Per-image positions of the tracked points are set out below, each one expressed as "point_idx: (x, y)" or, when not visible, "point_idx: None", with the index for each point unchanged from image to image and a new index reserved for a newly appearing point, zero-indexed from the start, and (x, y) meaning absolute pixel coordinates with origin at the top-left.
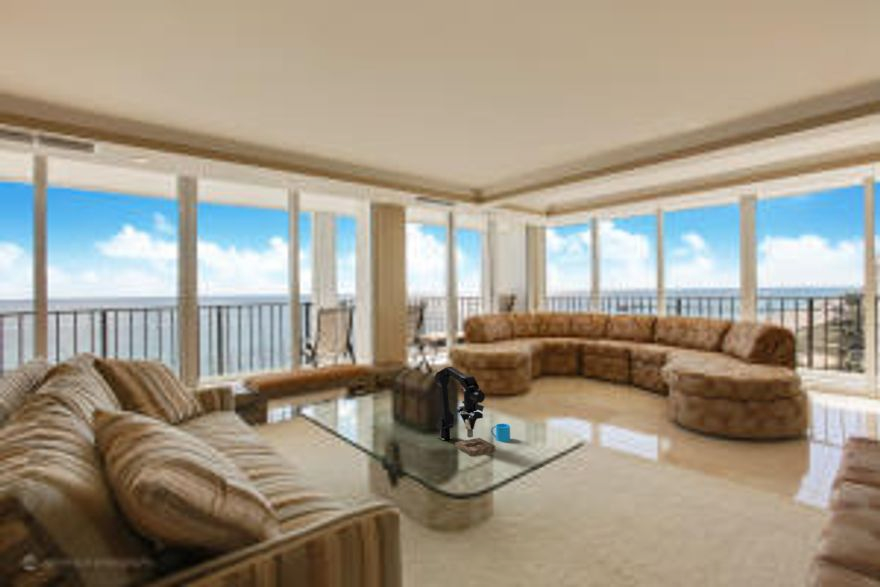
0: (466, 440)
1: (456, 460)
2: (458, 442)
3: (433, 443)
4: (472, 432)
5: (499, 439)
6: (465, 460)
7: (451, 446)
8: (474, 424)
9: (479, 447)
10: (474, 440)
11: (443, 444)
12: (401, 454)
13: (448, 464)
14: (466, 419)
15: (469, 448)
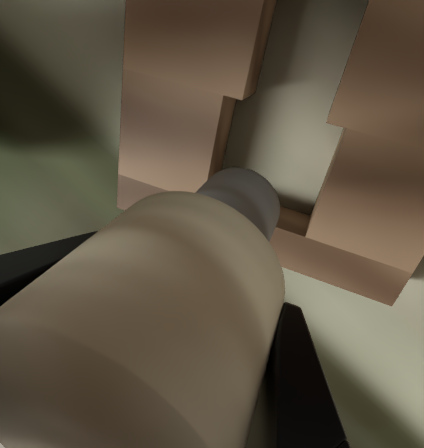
0: (126, 84)
1: (351, 383)
2: (130, 187)
3: (5, 228)
4: (264, 232)
5: None
6: (414, 361)
7: (109, 198)
8: (335, 415)
9: (414, 161)
10: (181, 3)
11: (47, 203)
12: None
13: (354, 443)
14: (2, 431)
15: (331, 252)
